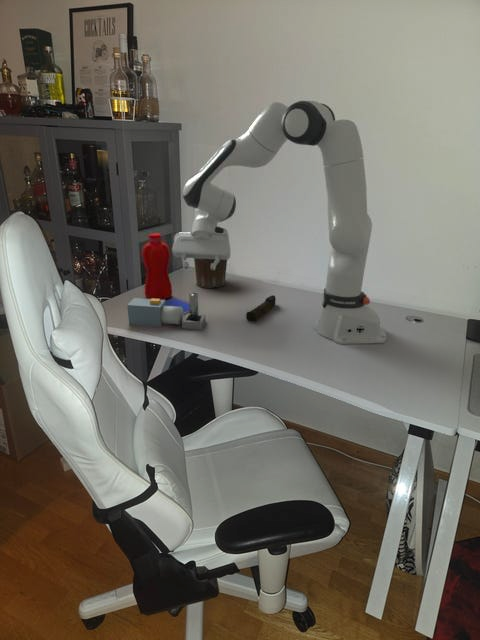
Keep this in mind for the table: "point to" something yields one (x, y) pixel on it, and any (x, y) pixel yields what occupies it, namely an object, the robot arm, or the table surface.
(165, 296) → the water bottle
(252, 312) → the hand tool
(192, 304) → the grey peg
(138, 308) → the handheld vacuum
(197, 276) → the plant pot
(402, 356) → the table surface
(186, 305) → the hard drive
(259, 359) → the table surface
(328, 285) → the robot arm
